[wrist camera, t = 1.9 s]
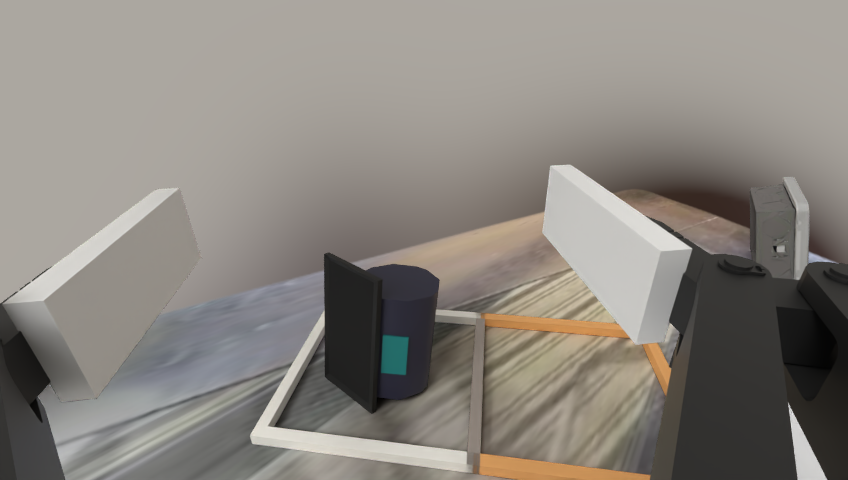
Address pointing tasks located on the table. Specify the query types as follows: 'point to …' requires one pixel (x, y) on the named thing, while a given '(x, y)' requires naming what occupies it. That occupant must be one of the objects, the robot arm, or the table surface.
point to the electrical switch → (780, 229)
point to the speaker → (378, 329)
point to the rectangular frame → (531, 474)
